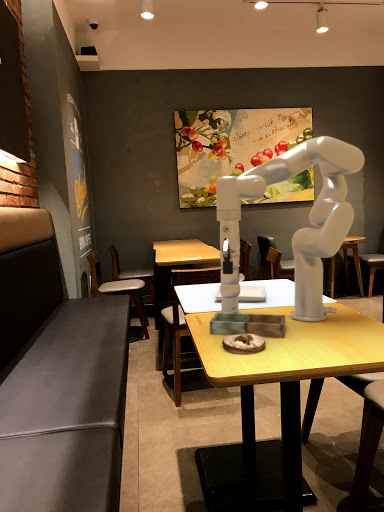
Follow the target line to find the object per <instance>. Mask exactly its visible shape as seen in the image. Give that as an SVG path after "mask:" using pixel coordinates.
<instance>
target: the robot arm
mask: <svg viewBox="0 0 384 512" xmlns="http://www.w3.org/2000/svg"><path fill="white" fill-rule="evenodd" d="M315 165H318V166H319V170H320V174H321V177H322V182H323V183H322V189H321V190H320V192H319V194H318V197H317V199H316V200H315V202H314V204H313V205H312V208H311V210H310V212H309V214H308V215H309V216H308V221H309V224H311V226H314V227H302V228H299V229H298V230H296V231H295V232H294V234H293V235H292V238H291V248H292V253H293V260H294V309H293V310H292V311H291V312H290V313H289V315H290V316H289V317H291V319H294V320H296V321H301V322H321V321H324V320H326V319H327V318H328V314H337V312H338V310H337V309H338V308H337V307H332V306H325V305H324V296H323V295H324V294H323V293H324V290H323V289H324V288H323V287H324V283H323V282H324V267H323V266H324V265H323V261H322V259H323V258H324V259H328V258H332V257H333V256H335V255H336V254H337V252H339V251H340V249H341V247H342V245H343V243H344V240H346V239H345V238H346V237H347V235H348V233H349V231H350V229H351V228H352V226H353V223H354V219H355V211H354V208H353V206H352V205H351V203H350V202H348V201H345V199H346V197H347V195H348V185H347V183H346V179H345V177H344V175H350V174H352V175H353V174H355V173H357V172H359V171H361V169H362V168H363V167H364V165H365V156H364V153H363V152H362V150H361V149H360V148H359V147H357V146H355V145H352V144H350V143H347V142H345V141H343V140H340V139H337V138H335V137H332V136H328V135H322V136H318V137H314V138H310V139H307V140H305V141H302V142H300V143H299V144H297V145H295V146H293V147H291V148H290V149H288V150H287V151H284V152H282V153H280V154H278V155H277V156H275V157H273V158H271V159H269V160H267V161H265V162H264V163H262V164H261V163H260V165H259V164H258V165H257V166H255V167H253V168H251V169H249V170H247V171H244V172H243V173H241V174H240V175H238V176H236V175H223V176H218V178H217V179H216V181H215V182H216V183H215V185H216V186H215V188H216V221H217V222H219V247H220V248H219V249H220V250H221V252H223V274H233V261H232V251H234V252H237V251H238V249H239V250H240V249H241V241H240V226H239V225H240V224H239V221H242V218H241V217H242V216H241V215H242V212H241V211H242V209H241V206H242V204H241V200H243V201H244V200H256V199H259V198H261V197H263V196H264V195H265V193H266V192H267V188H268V186H270V185H275V184H279V183H283V182H286V181H288V180H290V179H292V178H294V177H296V176H297V175H299V174H300V173H302V172H304V171H305V170H307V169H309V168H311V167H312V166H315ZM222 249H223V250H222ZM228 250H231V251H228ZM229 254H230V255H229ZM321 258H322V259H321Z"/></svg>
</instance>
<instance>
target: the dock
mask: <svg viewBox="0 0 384 512" xmlns="http://www.w3.org/2000/svg"><path fill="white" fill-rule="evenodd" d="M285 331H286V314H265V313H263V314H262V313H241V312H240V313H239V312H238V313H222V312H215V314H214V315H213V317H212V318H211V319H210V321H209V335H221V336H223V335H225V336H228V335H237V334H255V335H258V336H261V337H262V338H279V339H285Z"/></svg>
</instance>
